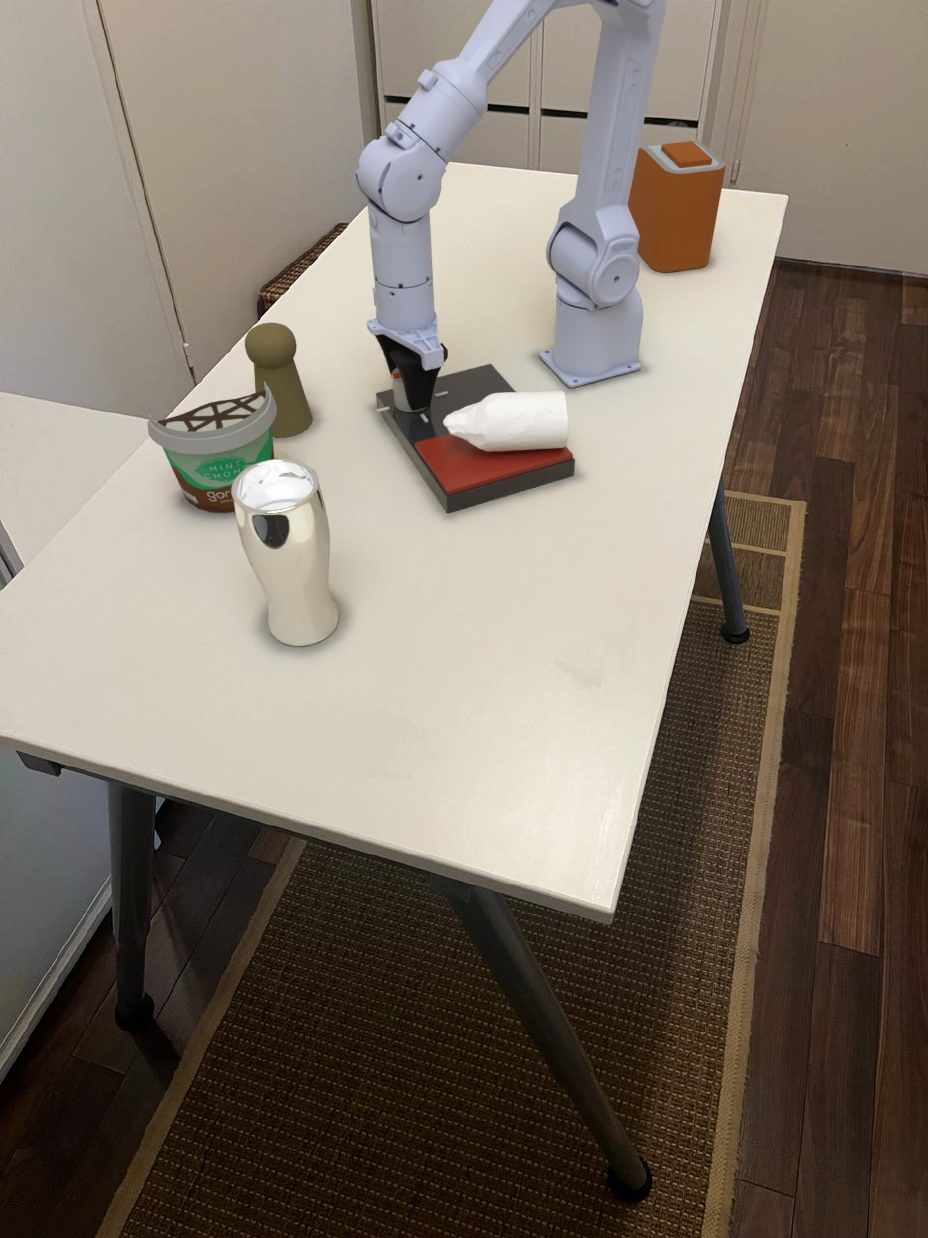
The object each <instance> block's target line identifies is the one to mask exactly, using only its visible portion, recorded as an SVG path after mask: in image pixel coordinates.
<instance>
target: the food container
mask: <svg viewBox="0 0 928 1238" xmlns="http://www.w3.org/2000/svg"><path fill="white" fill-rule="evenodd" d="M276 413H277V406H276V402H275V400H274V398H273V395H272V393H271V391H270V389H269V387H267V385H266V383H265V381H264V391H261V392H254V393H251V394H248V395H244V396H241V397H237V398H231V399H222V400H217V401H210V402H208V403H205V404H203V405H200V406H197V407H196V408H193V409H192V410H189V411H186V412H184V413H181V414H178V415H174V416H171V417H167V418H165V419H161V420H157V421H156V420H155V419H154V418H153V417H152V416H151V414H150V413H148V419H149V420H147V432H148V436H149V437H150V439H151V440H152V441H154V443H156V444H157V445H158V446H160V447H161V448H162V449H163V452H164V454H165V457H166V458H167V460H168V463H169V466H170V467H171V469H172V472H173V474H174V476H175V479H176V480H177V482H178V485H179V487H180V489H181V492H182V493H183V495H184V497H185V500H187V502H188V503H189V504H191V505H192V506H194V507H195V508H197V509H198V510H202V511H206V512H208V513H219V514H228V513H229V514H230V513H235V508H234V501H233V497H232V493H231V489H232V484H233V482H234V480H235V479H236V477H237V476H238V475H239V474H240V473H241V472H242V471H244V470H245V469H246V468H248V467H250V466H252V465H254V464H256V463H259V462H262V461H266V460H271V459H275V453H274V452H275V451H274V439H273V438H274V437H272V426H271V424H272V423H273V421H274V419H275V416H276Z"/></svg>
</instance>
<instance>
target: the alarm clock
mask: <svg viewBox="0 0 928 1238" xmlns="http://www.w3.org/2000/svg"><path fill="white" fill-rule="evenodd" d="M725 172H726V163H725V161H723V159H721V158H720V157H719V156H718V155H717V154H715V152H713V151H712V150H711V149H710V148H709V147H708V146H706V145H705V144H704V143H702V142H700V141H698V140H688V141H680V142H670V143H663V144H658V145H650V146H649V145H647V146H639V149H638V154H637V159H636V165H635V170H634V175H633V180H632V185H631V190H630V195H629V200H628V208H629V211H630V213H631V216H632V218H633V220H634V223H635V225H636V227H637V230H638V232H639V236H640V238H639V242H638V249H637V251H638V254H639V255H640V257H641V258H642V259H643V260H644V261H645V262H646V263H647V265H648V266H649V267H650V268H651V269H652V270H654V271H657V272H661V273H672V272H679V271H688V270H696V269H701V268H704V267H706V266H707V265H708V264H709V262H710V256H711V252H712V251H711V250H712V245H713V240H714V235H715V228H716V222H717V216H718V211H719V207H720V200H721V194H722V189H723V183H724V177H725Z"/></svg>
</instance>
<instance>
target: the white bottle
mask: <svg viewBox="0 0 928 1238" xmlns="http://www.w3.org/2000/svg"><path fill="white" fill-rule="evenodd" d="M567 403H568V402H567V397H566V394H565V392H564V391H563V390H554V391H519V392H518V391H515V392H505V393H493V394H491V395H488V396H487V397H485V398H484V399H483V400H482V401H481V402H479V403H476V404H472V405H469V406H466V407H464V408H462V409H460V410H458V411H454V412H453V413H451V414H449V415H447V416H446V418H445V419H444V420H443V424H444V426H446V427H447V429H448V431H449V433H450V434H451V435H454V436H456V437H459V438H462V439H464V440H466V441H468V442H469V443H470V444H472V445H474V446H476V447H477V448H479V449H481V450H485V451H486V452H492V451H513V450H531V449H551V448H564V447H567V444H568V440H569V431H570V430H569V427H570V426H569V413H568V404H567Z"/></svg>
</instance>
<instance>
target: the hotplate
mask: <svg viewBox="0 0 928 1238" xmlns="http://www.w3.org/2000/svg"><path fill="white" fill-rule="evenodd" d="M415 448H416V449H417V451H418V452H419V454H420V455H421V457H422V458H423V460H424V461H425V463H426V464H427V466H428V467H429V468H430V470H431V471H432V473H433V474H434V476H435V477H436V479H437V480H438V482H439V483H440V484H441V486H442V487H443V489H444V490H445V492H446V493H447V495H451V494H455V493H458V492H461V491H465V490H468V489H472V488H475V487H478V486H482V485H485V484H489V483H492V482H495V481H499V480H502V479H506V478H509V477H512V476H516V475H519V474H523V473H526V472H529V471H533V470H536V469H540V468H543V467H547V466H550V465H553V464H557V463H560V462H564V461H567V460H570V459H573V458H574V453H572V451H571V450H570V449H569V448H568V447H567V446H566V447H564V448H551V449H531V450H513V451H492V452H486V451H485V450H481V449H479V448H477V447H476V446H474V445H472V444H470V443H469V442H468V441H466V440H464V439H462V438H459V437H456V436H454V435H451V434H450V433H449V434H445V435H442V436H438V437H434V438H431V439H427V440H423V441H420V442H416V443H415Z"/></svg>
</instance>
